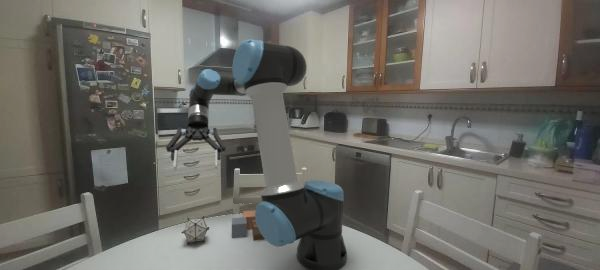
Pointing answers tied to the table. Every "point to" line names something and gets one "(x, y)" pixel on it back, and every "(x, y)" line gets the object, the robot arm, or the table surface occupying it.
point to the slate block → (239, 227)
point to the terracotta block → (249, 218)
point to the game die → (195, 230)
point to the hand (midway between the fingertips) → (195, 167)
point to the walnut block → (256, 231)
